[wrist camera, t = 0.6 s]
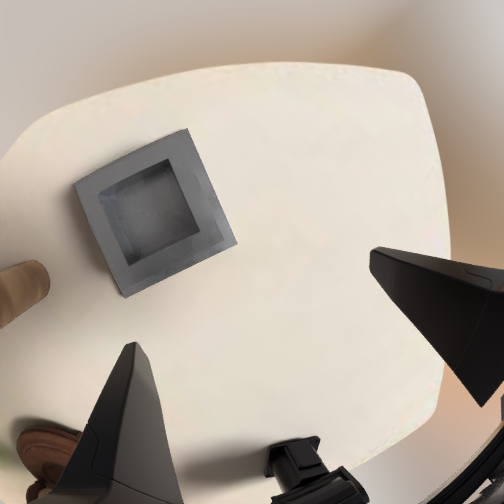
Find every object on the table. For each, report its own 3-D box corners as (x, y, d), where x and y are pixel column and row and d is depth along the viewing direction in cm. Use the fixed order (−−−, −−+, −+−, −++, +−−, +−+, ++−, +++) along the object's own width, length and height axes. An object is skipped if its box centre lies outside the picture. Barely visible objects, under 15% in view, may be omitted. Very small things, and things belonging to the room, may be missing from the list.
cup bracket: (236, 243, 23) (248, 249, 19) (126, 296, 21) (116, 313, 17) (187, 130, 21) (189, 112, 17) (76, 184, 19) (56, 178, 15)
